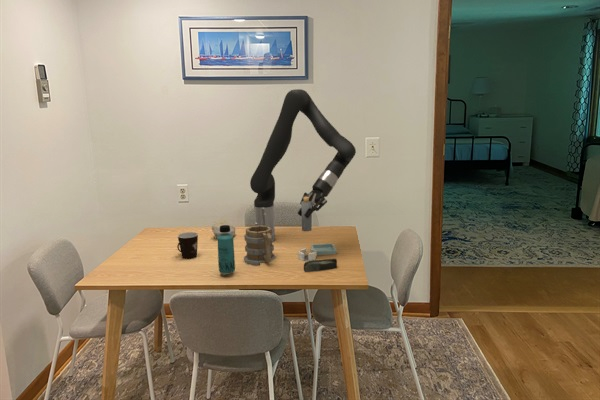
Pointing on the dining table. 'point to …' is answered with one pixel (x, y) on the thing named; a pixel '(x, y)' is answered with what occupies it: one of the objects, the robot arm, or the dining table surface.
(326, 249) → the tray
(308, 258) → the round holder stand
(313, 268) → the mobile phone
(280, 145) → the robot arm
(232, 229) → the fossil replica
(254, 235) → the tankard
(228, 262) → the beverage bottle
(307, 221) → the grey tan rounded cylinder
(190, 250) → the coffee mug
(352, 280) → the dining table surface
